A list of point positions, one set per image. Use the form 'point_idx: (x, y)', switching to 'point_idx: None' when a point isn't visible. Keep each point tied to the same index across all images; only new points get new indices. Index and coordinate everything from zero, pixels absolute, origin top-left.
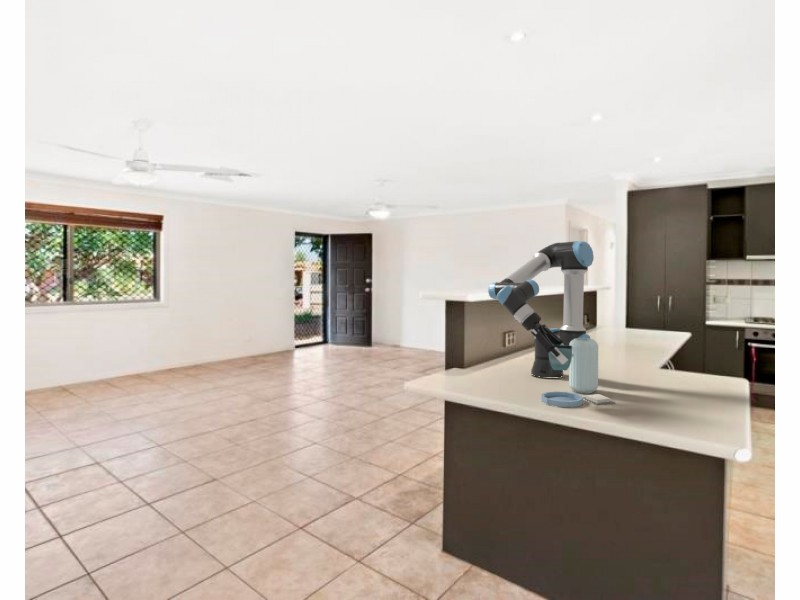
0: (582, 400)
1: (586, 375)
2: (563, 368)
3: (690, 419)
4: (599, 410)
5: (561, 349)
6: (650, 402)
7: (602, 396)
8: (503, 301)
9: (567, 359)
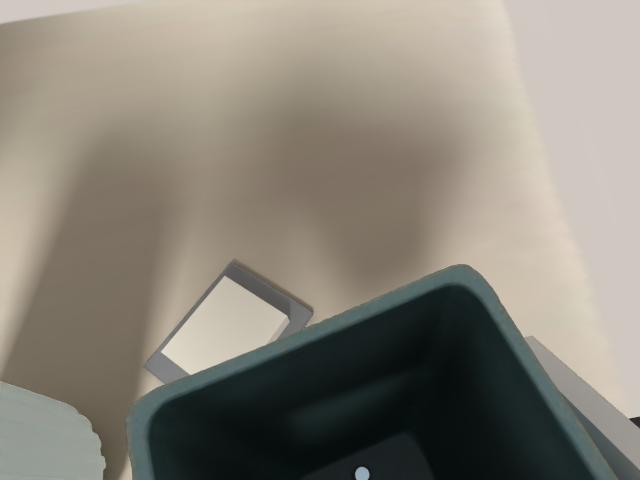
0: None
1: (43, 429)
2: (440, 449)
3: (300, 52)
4: (395, 274)
5: (568, 417)
6: (143, 175)
7: (203, 318)
8: None
9: (528, 341)
